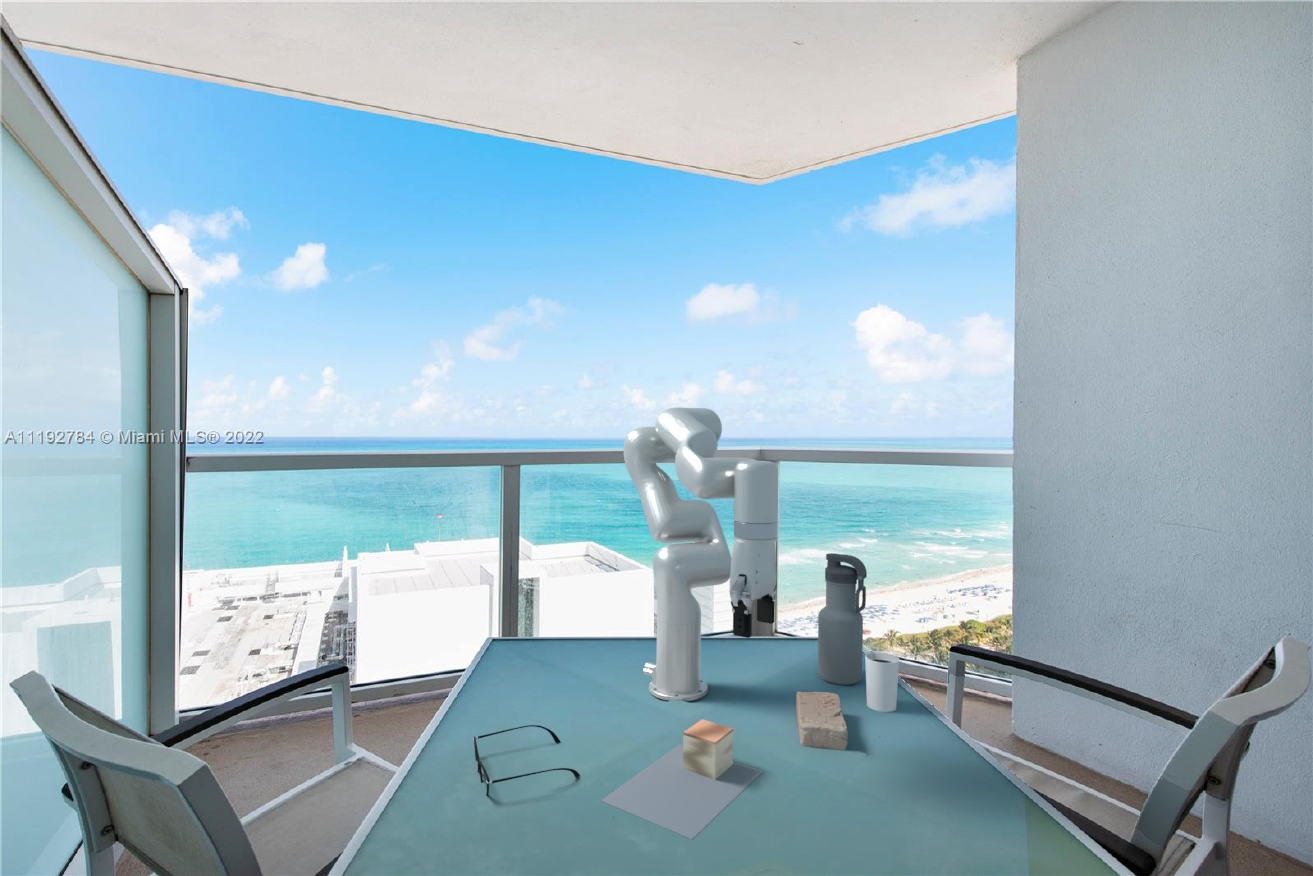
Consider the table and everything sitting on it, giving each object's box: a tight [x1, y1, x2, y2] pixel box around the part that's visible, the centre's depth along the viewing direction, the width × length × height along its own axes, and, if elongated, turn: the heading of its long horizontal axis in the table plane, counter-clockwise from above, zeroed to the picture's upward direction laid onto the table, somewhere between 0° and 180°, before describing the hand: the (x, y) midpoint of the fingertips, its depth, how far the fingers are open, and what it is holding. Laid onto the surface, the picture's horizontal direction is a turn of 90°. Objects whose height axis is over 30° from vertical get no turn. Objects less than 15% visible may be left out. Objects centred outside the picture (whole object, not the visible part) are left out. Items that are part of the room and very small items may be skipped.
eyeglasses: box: [472, 724, 580, 796], centre depth 108 cm, size 16×16×4 cm
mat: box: [600, 743, 764, 840], centre depth 102 cm, size 16×22×1 cm
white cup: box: [864, 651, 900, 713], centre depth 134 cm, size 7×7×10 cm
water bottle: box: [817, 553, 868, 686], centre depth 149 cm, size 10×10×28 cm
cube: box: [682, 718, 734, 780], centre depth 108 cm, size 6×6×6 cm
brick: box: [795, 691, 848, 751], centre depth 123 cm, size 16×8×5 cm, turn 171°
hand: (754, 628), depth 115 cm, fingers open, 9 cm apart
